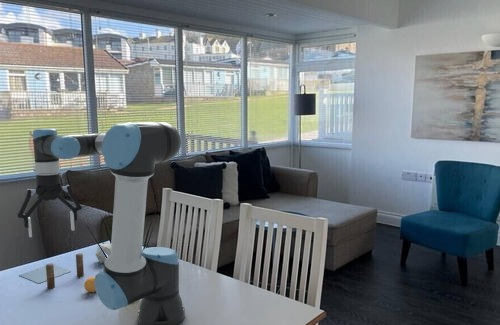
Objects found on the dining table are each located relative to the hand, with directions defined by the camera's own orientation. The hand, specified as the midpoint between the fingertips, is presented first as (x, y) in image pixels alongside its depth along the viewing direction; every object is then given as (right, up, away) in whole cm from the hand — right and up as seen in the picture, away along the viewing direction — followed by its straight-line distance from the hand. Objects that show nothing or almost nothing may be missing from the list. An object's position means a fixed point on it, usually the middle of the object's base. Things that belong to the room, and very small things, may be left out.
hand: (52, 233), depth 144 cm
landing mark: (-14, -21, +23) cm, 34 cm away
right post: (+1, -21, +21) cm, 30 cm away
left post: (-6, -23, +11) cm, 26 cm away
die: (+6, -19, +37) cm, 42 cm away
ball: (+11, -20, +7) cm, 24 cm away
